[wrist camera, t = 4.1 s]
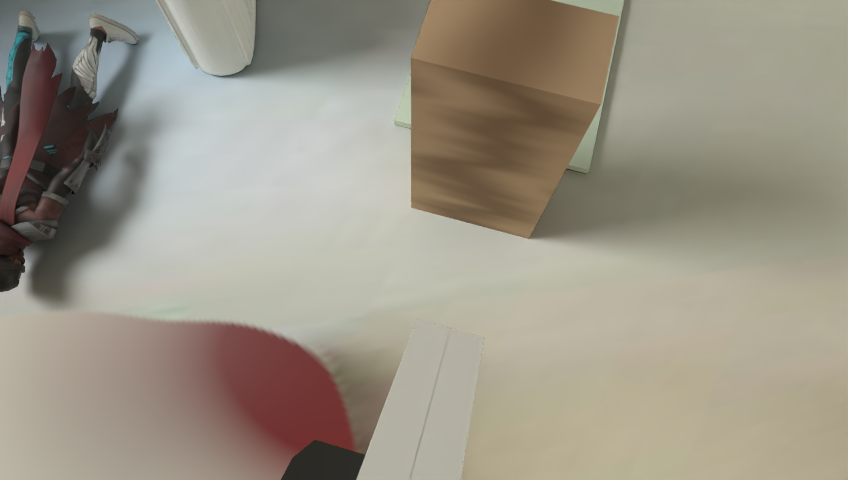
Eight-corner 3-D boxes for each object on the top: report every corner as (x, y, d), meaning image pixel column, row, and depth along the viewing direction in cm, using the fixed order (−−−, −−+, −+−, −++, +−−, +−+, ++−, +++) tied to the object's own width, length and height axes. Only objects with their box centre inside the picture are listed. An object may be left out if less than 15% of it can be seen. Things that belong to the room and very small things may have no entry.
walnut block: (411, 207, 35) (410, 57, 22) (429, 148, 36) (439, -26, 23) (528, 238, 34) (600, 104, 21) (542, 177, 36) (619, 16, 22)
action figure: (33, 46, 39) (-55, 311, 33) (-37, -26, 34) (-161, 276, 27) (151, 43, 39) (87, 312, 32) (100, -30, 33) (8, 277, 27)
